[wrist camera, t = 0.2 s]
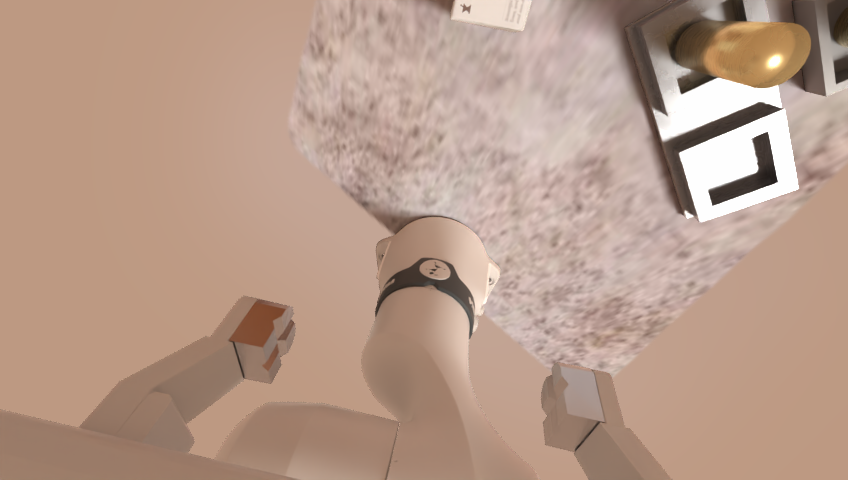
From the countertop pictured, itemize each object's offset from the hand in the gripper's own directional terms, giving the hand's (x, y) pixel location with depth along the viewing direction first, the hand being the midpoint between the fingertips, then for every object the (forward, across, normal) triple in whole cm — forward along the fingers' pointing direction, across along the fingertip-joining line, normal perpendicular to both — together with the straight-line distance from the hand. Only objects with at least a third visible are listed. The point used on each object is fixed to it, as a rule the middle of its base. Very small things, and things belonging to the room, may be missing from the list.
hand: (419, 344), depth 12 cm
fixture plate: (+39, +26, -1) cm, 47 cm away
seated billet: (+39, +22, +5) cm, 45 cm away
